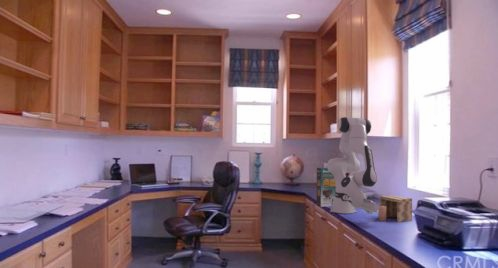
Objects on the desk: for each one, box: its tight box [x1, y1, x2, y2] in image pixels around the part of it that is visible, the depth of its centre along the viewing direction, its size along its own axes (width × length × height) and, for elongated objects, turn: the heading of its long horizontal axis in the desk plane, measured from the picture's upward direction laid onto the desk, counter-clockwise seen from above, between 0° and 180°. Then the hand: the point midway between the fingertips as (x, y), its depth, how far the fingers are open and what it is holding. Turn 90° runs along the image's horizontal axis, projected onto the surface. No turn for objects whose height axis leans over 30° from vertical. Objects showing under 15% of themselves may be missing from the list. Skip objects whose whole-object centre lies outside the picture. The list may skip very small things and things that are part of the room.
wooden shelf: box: [379, 195, 413, 223], centre depth 251 cm, size 12×16×14 cm
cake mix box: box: [316, 167, 336, 208], centre depth 302 cm, size 22×6×30 cm, turn 111°
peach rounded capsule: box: [377, 205, 387, 222], centre depth 246 cm, size 5×5×9 cm
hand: (370, 212), depth 241 cm, fingers closed
